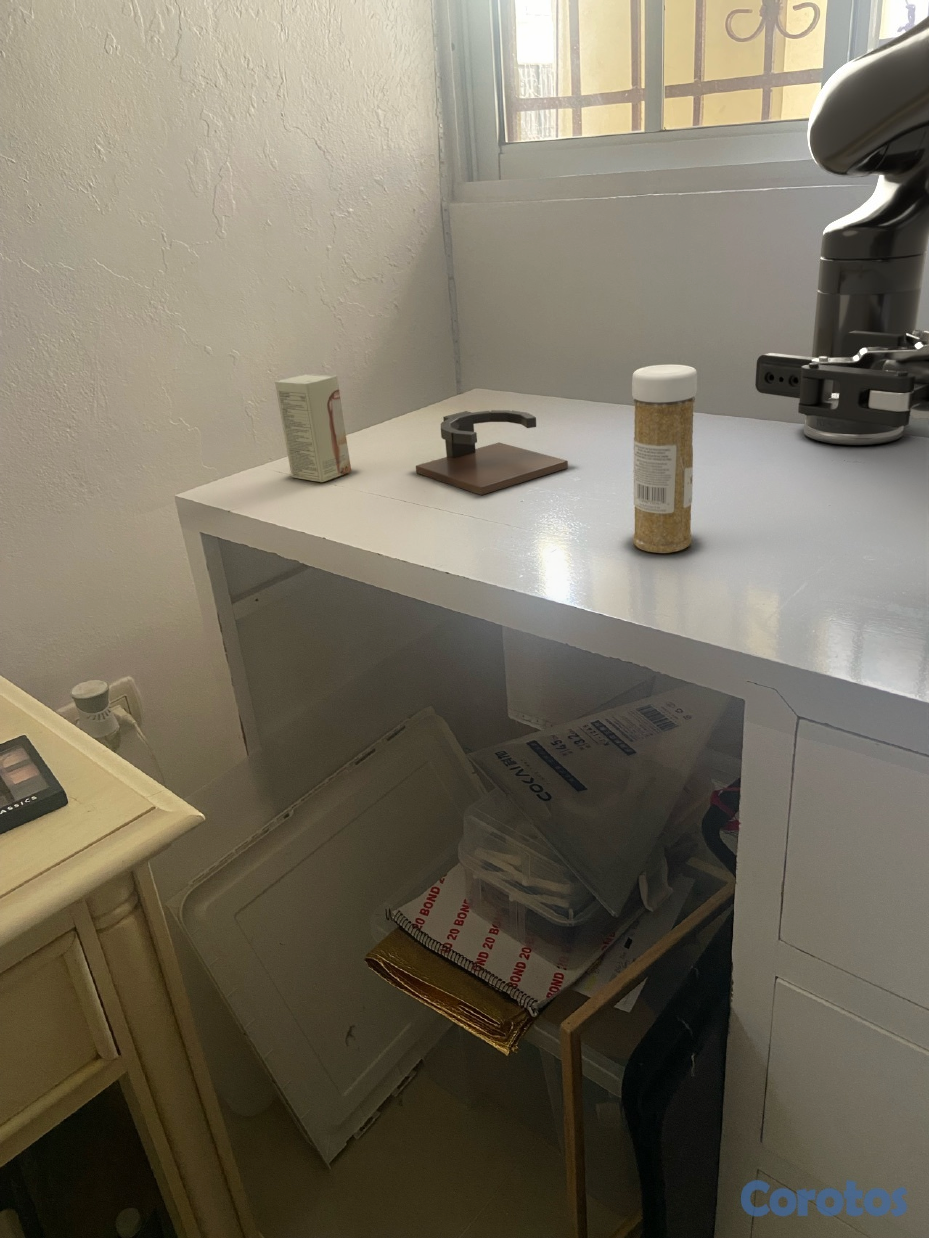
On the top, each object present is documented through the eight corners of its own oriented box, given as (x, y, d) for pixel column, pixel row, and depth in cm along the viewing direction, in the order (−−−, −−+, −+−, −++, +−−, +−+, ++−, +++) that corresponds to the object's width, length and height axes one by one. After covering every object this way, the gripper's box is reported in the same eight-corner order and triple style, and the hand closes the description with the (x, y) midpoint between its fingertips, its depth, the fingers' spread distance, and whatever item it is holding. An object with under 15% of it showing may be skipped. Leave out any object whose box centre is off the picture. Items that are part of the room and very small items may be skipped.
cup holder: (568, 468, 90) (566, 418, 88) (481, 495, 85) (477, 443, 83) (498, 449, 99) (496, 403, 96) (415, 472, 93) (410, 424, 91)
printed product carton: (353, 472, 95) (340, 375, 90) (322, 484, 92) (307, 384, 87) (320, 466, 98) (305, 371, 94) (289, 477, 95) (272, 380, 91)
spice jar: (704, 544, 70) (711, 367, 64) (661, 560, 68) (664, 378, 62) (661, 529, 73) (664, 360, 67) (619, 544, 71) (618, 370, 65)
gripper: (1176, 290, 46) (875, 281, 58) (1043, 333, 38) (731, 312, 50) (1139, 436, 49) (862, 399, 61) (1010, 502, 42) (724, 445, 54)
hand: (803, 360), depth 56 cm, fingers open, 8 cm apart
